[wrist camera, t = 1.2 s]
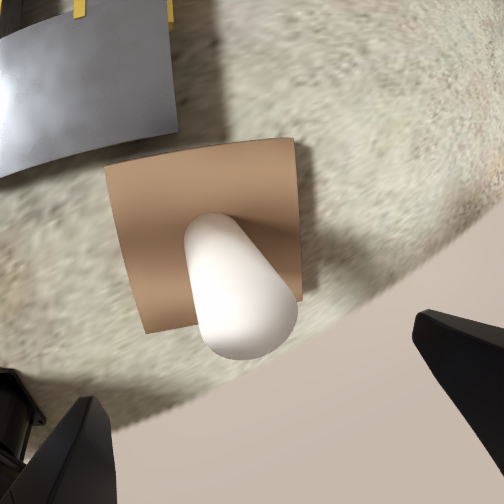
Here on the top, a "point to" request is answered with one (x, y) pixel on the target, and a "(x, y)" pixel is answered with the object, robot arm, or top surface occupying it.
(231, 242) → the white peg
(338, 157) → the top surface
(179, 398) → the top surface
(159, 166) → the brown square slab
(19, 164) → the plate
